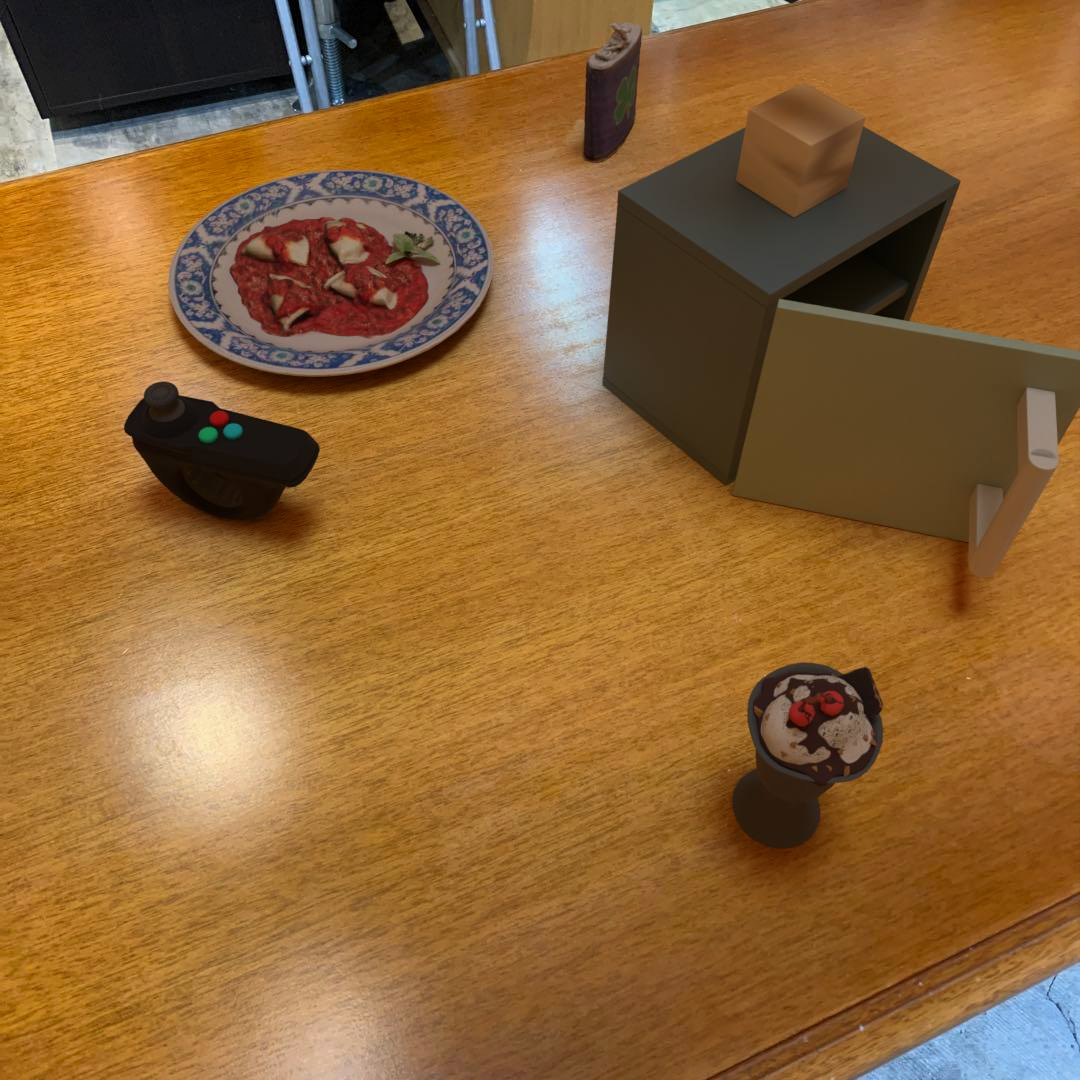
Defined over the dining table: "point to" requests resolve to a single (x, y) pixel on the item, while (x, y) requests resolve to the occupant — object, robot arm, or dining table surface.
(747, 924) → the dining table surface
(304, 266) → the ceramic plate
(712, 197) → the cupboard
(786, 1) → the robot arm
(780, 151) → the block
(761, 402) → the door
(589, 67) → the flask
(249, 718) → the dining table surface
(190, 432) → the controller
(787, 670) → the sundae
